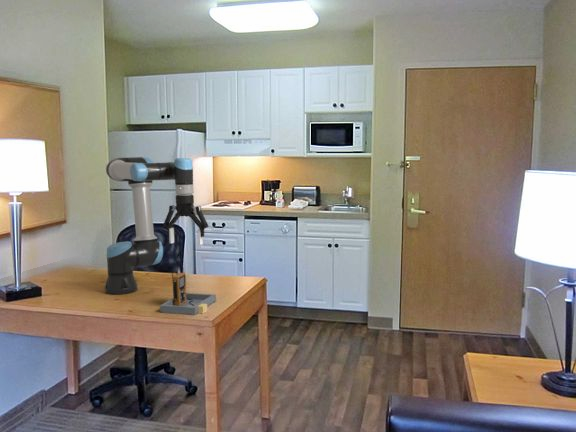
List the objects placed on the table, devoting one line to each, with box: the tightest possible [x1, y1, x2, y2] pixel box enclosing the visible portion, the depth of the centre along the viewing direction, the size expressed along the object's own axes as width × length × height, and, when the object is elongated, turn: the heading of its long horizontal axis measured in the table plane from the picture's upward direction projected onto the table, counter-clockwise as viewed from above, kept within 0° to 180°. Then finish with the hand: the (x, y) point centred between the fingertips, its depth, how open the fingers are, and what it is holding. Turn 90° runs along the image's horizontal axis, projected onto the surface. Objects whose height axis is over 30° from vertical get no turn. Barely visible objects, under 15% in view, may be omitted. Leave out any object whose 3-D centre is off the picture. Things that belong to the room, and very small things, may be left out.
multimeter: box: [171, 257, 195, 306], centre depth 222 cm, size 15×10×20 cm
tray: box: [159, 292, 217, 316], centre depth 220 cm, size 18×21×3 cm
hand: (186, 243), depth 220 cm, fingers open, 13 cm apart
